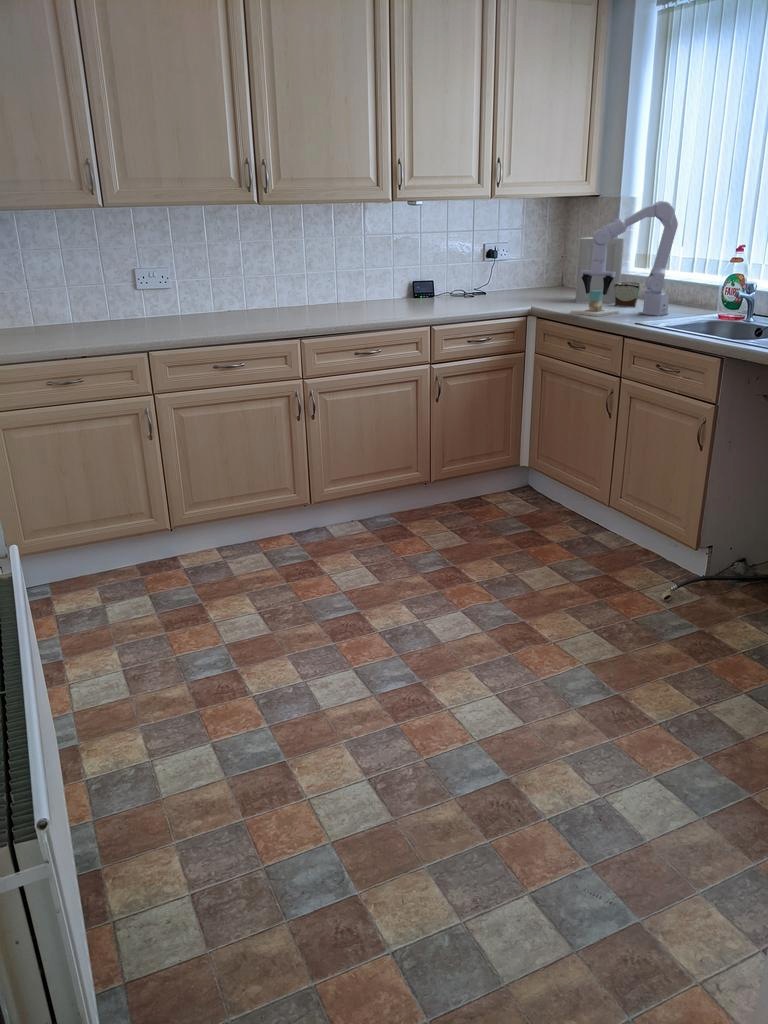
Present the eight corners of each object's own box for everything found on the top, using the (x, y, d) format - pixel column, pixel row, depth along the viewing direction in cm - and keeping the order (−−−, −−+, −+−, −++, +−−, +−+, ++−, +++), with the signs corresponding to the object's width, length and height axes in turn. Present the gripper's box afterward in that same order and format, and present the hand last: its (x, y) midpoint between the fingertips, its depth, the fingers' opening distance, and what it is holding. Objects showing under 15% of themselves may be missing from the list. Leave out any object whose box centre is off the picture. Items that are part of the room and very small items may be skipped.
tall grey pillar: (615, 299, 394) (621, 236, 383) (618, 303, 380) (624, 238, 370) (574, 298, 396) (578, 236, 386) (575, 302, 383) (580, 238, 373)
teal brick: (602, 300, 350) (603, 290, 349) (598, 301, 348) (599, 291, 346) (593, 299, 353) (594, 290, 351) (589, 300, 350) (590, 290, 348)
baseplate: (618, 313, 351) (618, 310, 351) (597, 316, 343) (597, 313, 342) (591, 309, 361) (591, 307, 361) (570, 313, 353) (570, 310, 353)
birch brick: (601, 310, 352) (602, 300, 351) (597, 311, 349) (598, 301, 348) (592, 309, 354) (593, 299, 353) (588, 310, 352) (589, 300, 350)
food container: (643, 306, 372) (646, 282, 368) (637, 307, 367) (640, 284, 364) (617, 303, 379) (619, 281, 375) (611, 305, 375) (613, 282, 371)
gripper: (619, 260, 343) (616, 294, 348) (586, 258, 351) (584, 291, 356) (612, 261, 338) (609, 295, 343) (579, 259, 346) (576, 293, 351)
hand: (596, 293), depth 349 cm, fingers open, 7 cm apart
